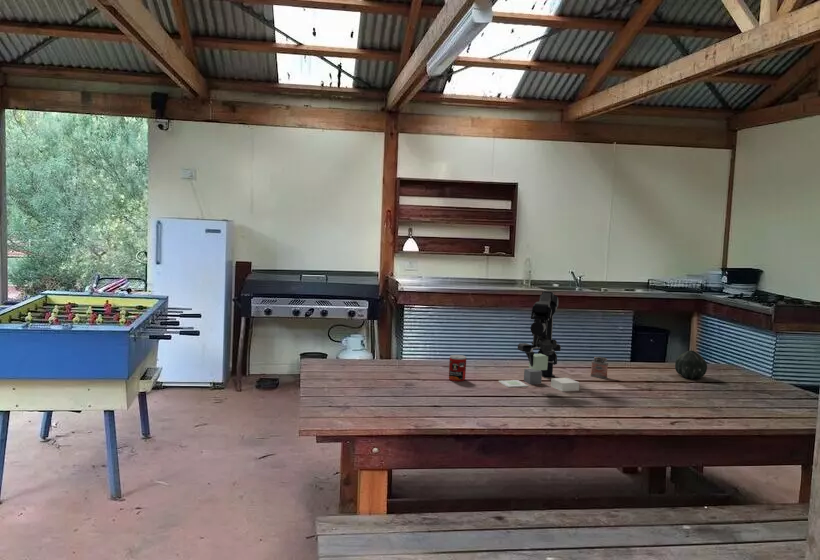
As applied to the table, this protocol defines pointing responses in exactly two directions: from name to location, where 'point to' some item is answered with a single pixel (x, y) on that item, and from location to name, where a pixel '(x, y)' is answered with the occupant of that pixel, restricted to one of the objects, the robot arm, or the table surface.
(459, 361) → the canned food
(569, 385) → the base block
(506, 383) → the tile
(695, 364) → the squash
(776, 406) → the table surface
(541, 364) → the sage block
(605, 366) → the lighter
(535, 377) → the charcoal block
